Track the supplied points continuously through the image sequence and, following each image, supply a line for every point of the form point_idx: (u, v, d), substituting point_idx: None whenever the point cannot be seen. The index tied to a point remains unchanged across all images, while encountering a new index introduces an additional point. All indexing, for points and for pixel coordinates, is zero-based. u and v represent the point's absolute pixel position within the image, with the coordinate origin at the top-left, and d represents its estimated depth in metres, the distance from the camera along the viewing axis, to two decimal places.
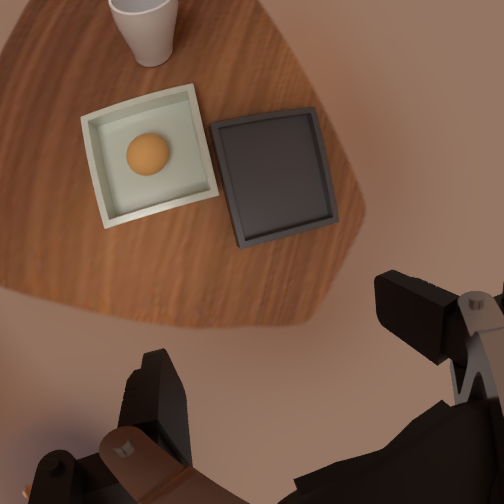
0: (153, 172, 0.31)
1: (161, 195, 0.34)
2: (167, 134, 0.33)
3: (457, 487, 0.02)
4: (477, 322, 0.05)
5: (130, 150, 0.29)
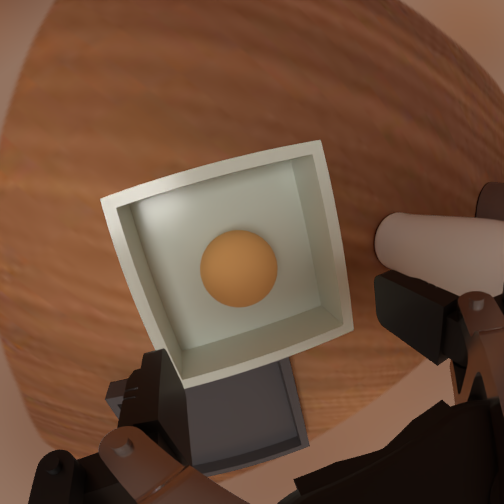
0: (206, 287, 0.18)
1: (166, 283, 0.21)
2: None
3: (457, 487, 0.02)
4: (477, 322, 0.05)
5: (248, 246, 0.17)
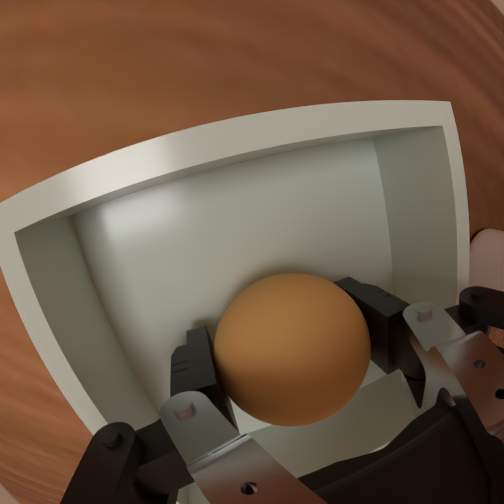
0: (228, 394, 0.08)
1: (149, 360, 0.11)
2: None
3: (457, 487, 0.02)
4: (417, 335, 0.06)
5: (331, 322, 0.07)
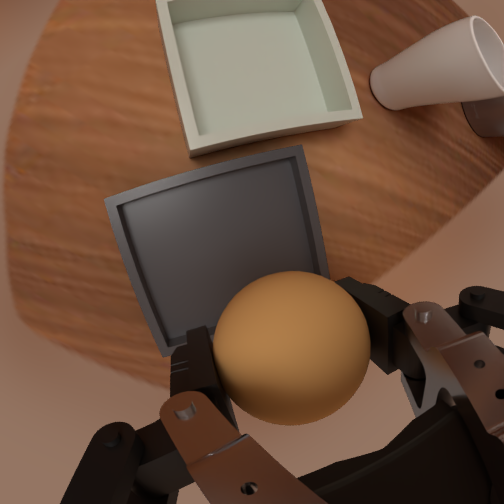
0: (227, 393, 0.08)
1: (191, 79, 0.21)
2: (281, 89, 0.22)
3: (457, 487, 0.02)
4: (417, 336, 0.06)
5: (331, 321, 0.07)
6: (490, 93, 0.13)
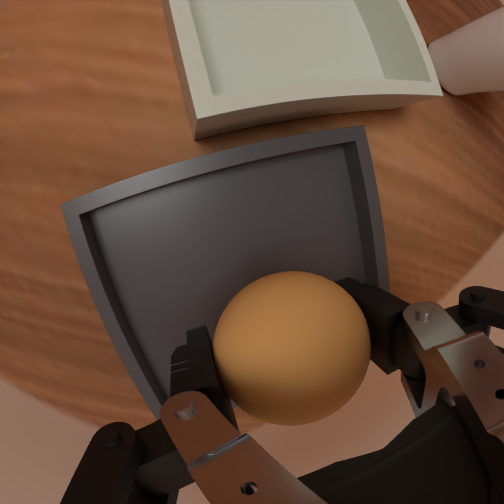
0: (228, 393, 0.08)
1: (199, 27, 0.12)
2: (328, 50, 0.14)
3: (457, 487, 0.02)
4: (417, 335, 0.06)
5: (331, 321, 0.07)
6: None
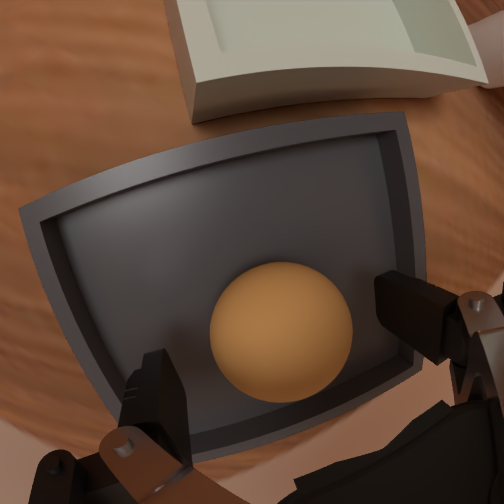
0: (222, 371, 0.09)
1: None
2: (356, 24, 0.11)
3: (457, 487, 0.02)
4: (477, 322, 0.05)
5: (313, 304, 0.08)
6: None
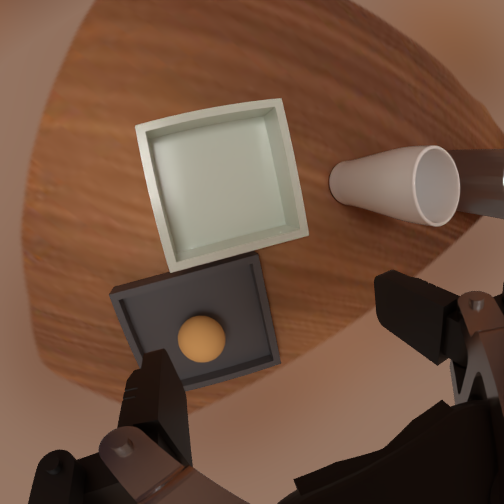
0: (181, 350, 0.28)
1: (170, 196, 0.28)
2: (245, 202, 0.30)
3: (457, 487, 0.02)
4: (477, 322, 0.05)
5: (205, 332, 0.28)
6: (423, 224, 0.21)
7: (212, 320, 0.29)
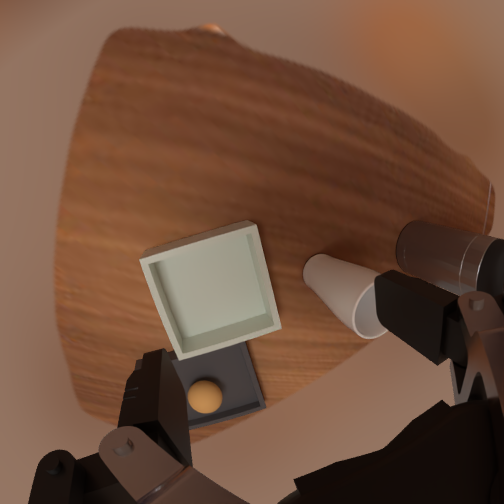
0: None
1: (174, 299, 0.37)
2: (233, 300, 0.38)
3: (457, 487, 0.02)
4: (477, 322, 0.05)
5: (207, 395, 0.36)
6: None
7: (212, 385, 0.37)
